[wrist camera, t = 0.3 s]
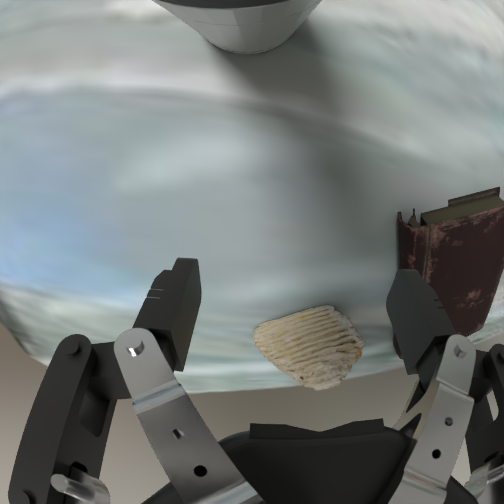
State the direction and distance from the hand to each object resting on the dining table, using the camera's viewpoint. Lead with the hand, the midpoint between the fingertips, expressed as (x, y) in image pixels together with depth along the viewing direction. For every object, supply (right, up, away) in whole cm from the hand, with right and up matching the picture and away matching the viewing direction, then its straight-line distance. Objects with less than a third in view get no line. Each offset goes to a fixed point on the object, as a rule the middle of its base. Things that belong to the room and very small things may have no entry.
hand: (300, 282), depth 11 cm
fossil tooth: (+5, -8, +28) cm, 30 cm away
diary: (+27, -2, +24) cm, 36 cm away
